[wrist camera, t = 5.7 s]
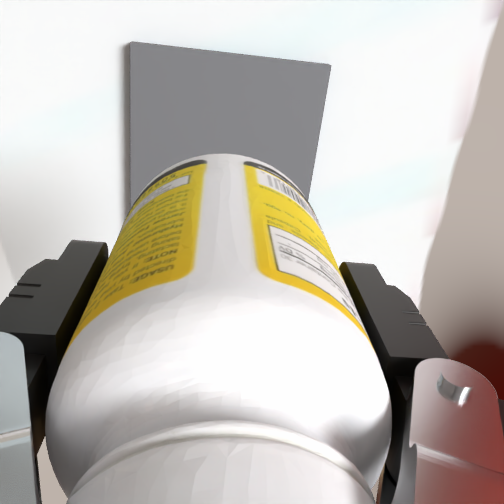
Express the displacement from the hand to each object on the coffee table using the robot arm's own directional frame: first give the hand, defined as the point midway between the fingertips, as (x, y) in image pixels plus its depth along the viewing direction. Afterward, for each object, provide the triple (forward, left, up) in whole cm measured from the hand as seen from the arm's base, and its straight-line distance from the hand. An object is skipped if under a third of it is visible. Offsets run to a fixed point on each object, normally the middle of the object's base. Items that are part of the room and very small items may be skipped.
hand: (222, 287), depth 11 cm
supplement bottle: (0, 0, -3) cm, 3 cm away
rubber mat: (+4, 0, -16) cm, 17 cm away
